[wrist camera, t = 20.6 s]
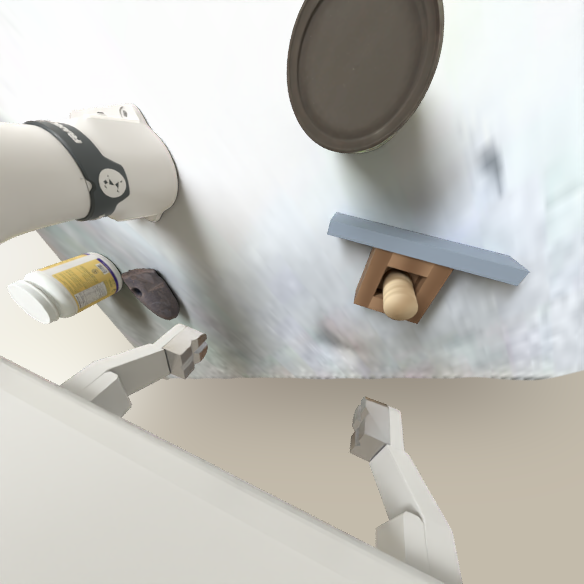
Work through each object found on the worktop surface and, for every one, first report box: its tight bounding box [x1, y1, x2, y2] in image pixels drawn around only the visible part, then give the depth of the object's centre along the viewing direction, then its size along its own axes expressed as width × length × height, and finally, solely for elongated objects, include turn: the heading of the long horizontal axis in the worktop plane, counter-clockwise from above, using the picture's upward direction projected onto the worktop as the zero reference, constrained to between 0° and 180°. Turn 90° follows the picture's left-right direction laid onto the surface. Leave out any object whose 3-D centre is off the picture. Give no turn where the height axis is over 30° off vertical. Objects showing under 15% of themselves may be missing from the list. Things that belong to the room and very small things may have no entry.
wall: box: [327, 212, 529, 286], centre depth 30 cm, size 24×2×5 cm, turn 80°
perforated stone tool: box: [122, 268, 179, 320], centre depth 54 cm, size 15×5×7 cm, turn 25°
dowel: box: [383, 268, 418, 320], centre depth 32 cm, size 4×4×8 cm
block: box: [354, 247, 453, 324], centre depth 34 cm, size 10×10×4 cm
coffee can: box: [287, 0, 444, 153], centre depth 21 cm, size 10×10×14 cm
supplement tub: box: [8, 253, 123, 324], centre depth 54 cm, size 12×12×17 cm
